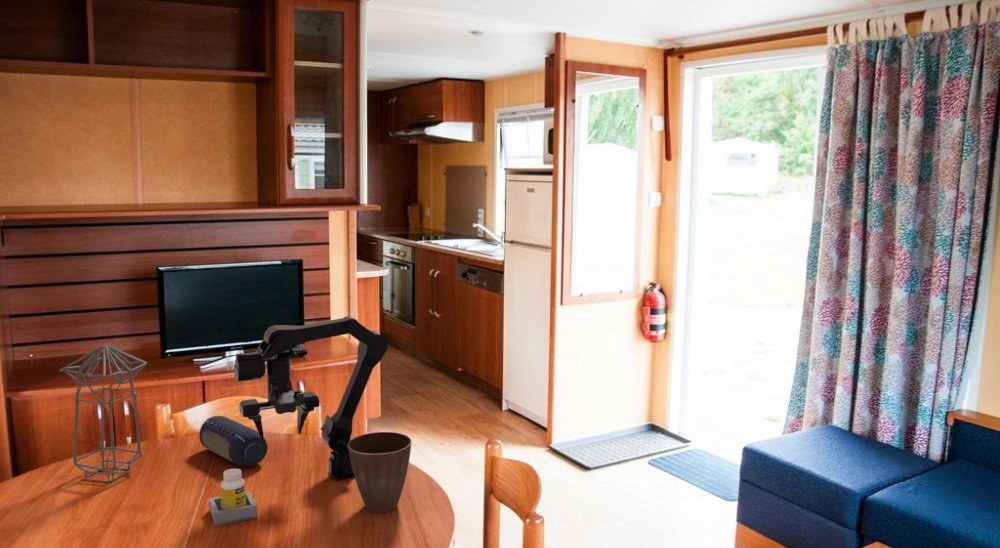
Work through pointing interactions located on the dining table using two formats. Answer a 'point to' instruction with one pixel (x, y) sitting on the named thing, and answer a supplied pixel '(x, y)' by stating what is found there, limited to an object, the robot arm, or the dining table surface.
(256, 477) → the dining table surface
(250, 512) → the can holder
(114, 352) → the geometric lantern
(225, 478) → the supplement bottle
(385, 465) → the plant pot
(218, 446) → the portable speaker
